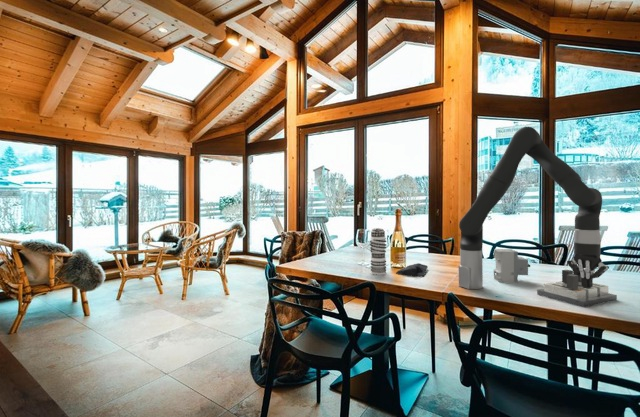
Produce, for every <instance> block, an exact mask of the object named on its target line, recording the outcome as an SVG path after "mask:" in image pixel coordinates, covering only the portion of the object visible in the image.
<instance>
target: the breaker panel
mask: <svg viewBox="0 0 640 417" xmlns="http://www.w3.org/2000/svg"><path fill="white" fill-rule="evenodd" d="M570 274H573V275H576V274H575V273H574V271H573V270H572V269H571V270H570V269H562V270H561V281H556V282H548V283H544V284H543V288H541V289H537V294H536V295H538V296H541V297H546V298H549V299H552V300H557V301H560V302H564V303H568V304H570V305H575V306H578V307H582V308H586V307H587V308H588V307H591V306H595V305H600V304H606V303H609V302H614V301H618V295H617V294H614V293H610V292H609V285H605V284H601V283H595V282H593V286H592V287H591V288H590V289H587V288H583V286H582V278H581V276H579V275H578V289H570V288H567V275H570Z"/></svg>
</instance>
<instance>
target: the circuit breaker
mask: <svg viewBox="0 0 640 417" xmlns="http://www.w3.org/2000/svg"><path fill="white" fill-rule="evenodd" d="M493 250H494V251H493V258H494V260H495V268H494V269H493V279H494V280H495V281H497V282H498V283H512V284H513V283H514V284H516V283H517V284H518V283H519V278H518V276H529V268H531V265H530V264H529V259H528V258H525V257H523V256H518V255H519V254H518V251H517V250H514V249H512V248H511V249H510V248H496V249H495V248H494V249H493Z"/></svg>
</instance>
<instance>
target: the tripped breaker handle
mask: <svg viewBox="0 0 640 417" xmlns="http://www.w3.org/2000/svg"><path fill="white" fill-rule="evenodd" d="M567 288H570V289H578V275H573V274H570V275H567Z"/></svg>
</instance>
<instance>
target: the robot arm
mask: <svg viewBox="0 0 640 417" xmlns="http://www.w3.org/2000/svg"><path fill="white" fill-rule="evenodd" d="M525 155H527V156H529V157H530V158H531V159H532V160H534V161H536V162H537V164H538V165H539V166H541V167H542V169H543V170H544V171H545V173H546V174H547V175H548V176H549V177H550V178H551V179H552V180H553V181H554V182H555V183H556V184H557V185H558V186H559V187H560V188H561V189H562V190H563V192H564V193H565V194H566V196H567V197H568V199H569V200H570V201H571V202H573V204H575V205H576V206H578V212H577V213H576V215H575V217H574V232H573V253H574V255H573V257H572V259H570V260H567V261H566V264H568V266H569V267H570V269H571V270H572V271H574V273H575V274H576V275H579V276H581V278H582V286H583V288H587V289H590V288H591V287H592V286H593V283H594V279H596V278H597V279H598V278H600V277H601V276H602V275H604V273H605V272H607V271H608V270H609V269H610V266H609V265H606V264H604V263H603V262H602V261H603V260H602V258H601V252H602V251H601V247H602V246H601V244H602V243H601V241H602V240H601V230H600V227H601V224H600V216H601V211H602V205H603V196H602V193H601V191H599V189H597V188H595V187H589V186H588V185H587V184H586V183H585V182H584V181H583V180H582V177H581V175H579V174H578V172H577V171H575V170H574V168H573V167H571V165H569V164H568V163H567V162H566V161H564V160H563V159H562V158H560V157H559V156H558V155H556V154H555V153H554V152H553V151H552V150H550V148H549V147H548V146H547V144H546V143H545V142H544V140H543V139H542V136H541V135H540V133H539V132H538V131H537V130H536V129H535V128H534V127H532V126H523V127H521V128H519V129H518V130H516V131H515V133H514V134H513V136H512V138H511V139H510V141H509V143H508V145H507V147H506V149H505V150H504V153H503V154H502V156H501V158H500V159H499V160H498V162H497V163H496V165H495V166H494V168H493V170H492V171H491V173H490V174H489V175H488V177H487V179H486V180H485V182H484V184H483V185H482V187H481V188H480V190H479V192H478V195H477V196H476V198H475V200H474V202H473V203H472V205H471V207H470V208H469V209H468V211H467V212H466V213H465V214H464V215H463V217H461V219H460V220H459V224H458V225H459V226H458V227H459V230H460V242H459V248H460V250H459V255H460V256H459V258H460V259H459V260H460V261H459V262H460V263H459V265H458V286H459V287H461V288H464V289H467V290H480V289H483V286H484V281H483V278H484V277H483V274H484V272H483V271H484V270H483V242H484V241H483V240H484V239H483V238H484V236H483V235H484V228H483V227H484V225H483V224H484V223H485V221H486V219H487V217H488V215H489V214H490V212H491V211H492V210H493V208H495V206H496V205H497V204H498V203H499V202H500V200H501V199H502V198H503V197H504V196H505V195H506V193H507V191H508V190H509V188H510V187H511V185H512V184H513V181H514V179H515V177H516V174H517V170H518V168H519V165H520V163H521V162H522V159H523V158H524V157H525ZM596 269H597V270H596Z"/></svg>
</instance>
